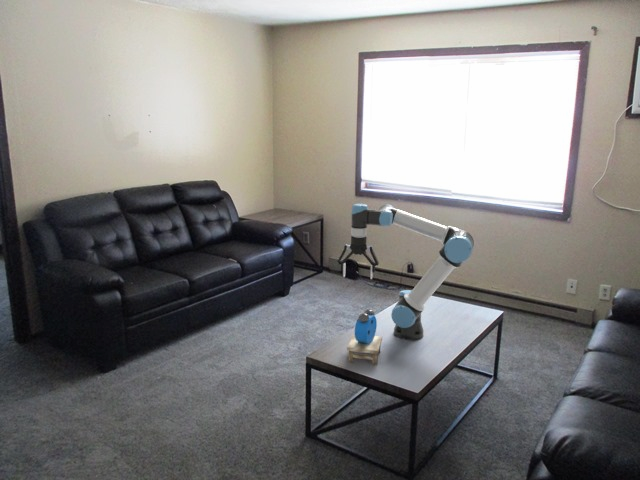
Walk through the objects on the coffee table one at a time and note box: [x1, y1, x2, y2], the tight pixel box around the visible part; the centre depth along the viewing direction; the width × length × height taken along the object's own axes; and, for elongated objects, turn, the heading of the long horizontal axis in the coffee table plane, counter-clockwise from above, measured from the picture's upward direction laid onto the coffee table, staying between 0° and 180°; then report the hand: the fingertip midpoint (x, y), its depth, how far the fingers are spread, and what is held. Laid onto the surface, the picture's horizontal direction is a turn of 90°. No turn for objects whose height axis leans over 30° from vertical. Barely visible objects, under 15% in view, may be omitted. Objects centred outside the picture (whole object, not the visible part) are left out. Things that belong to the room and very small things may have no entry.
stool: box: [346, 333, 383, 366], centre depth 251 cm, size 14×16×8 cm
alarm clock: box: [354, 308, 378, 344], centre depth 248 cm, size 13×6×15 cm, turn 153°
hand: (357, 277), depth 266 cm, fingers open, 13 cm apart
